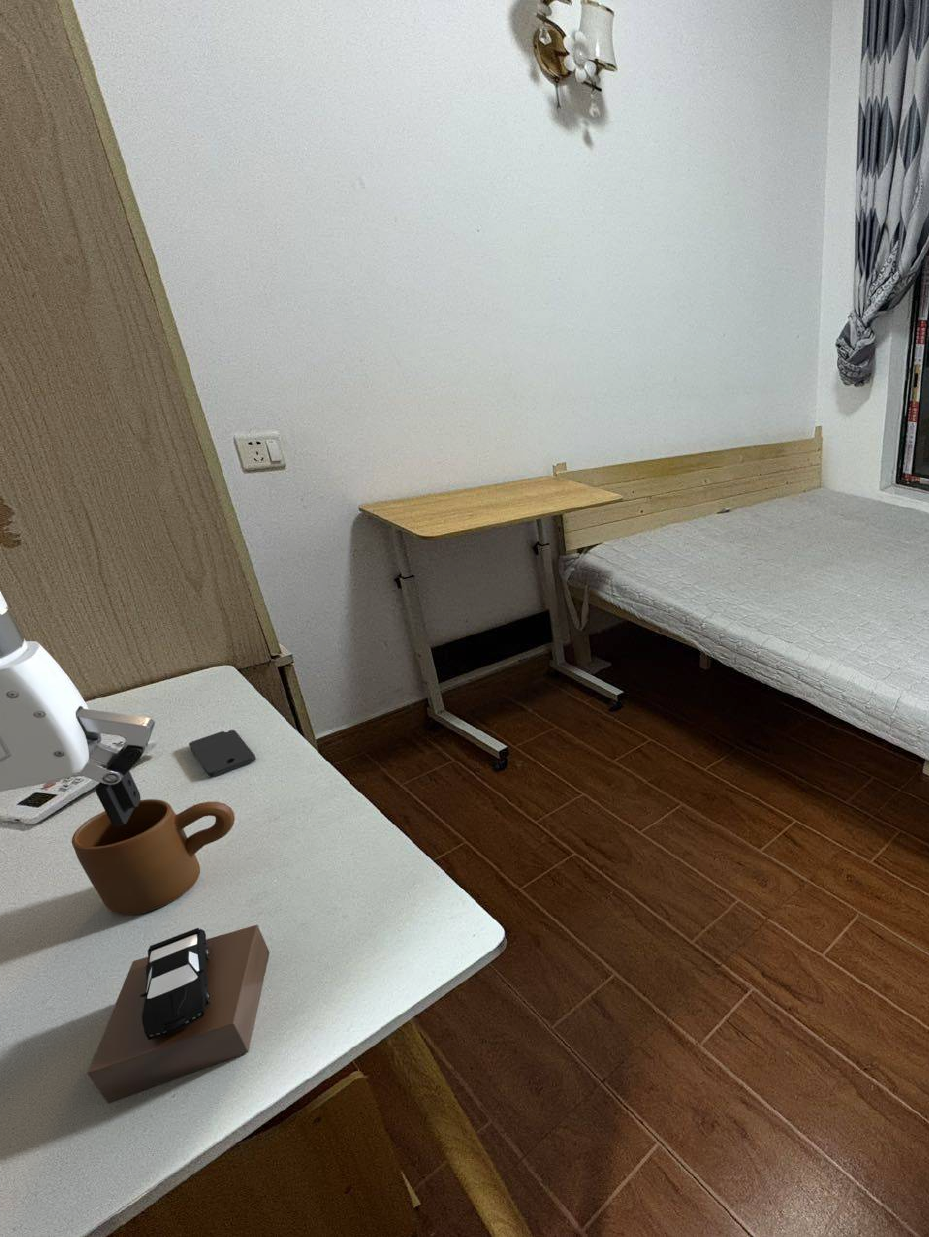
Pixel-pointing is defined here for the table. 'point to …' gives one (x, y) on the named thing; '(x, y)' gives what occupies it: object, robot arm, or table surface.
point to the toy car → (175, 983)
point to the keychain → (222, 752)
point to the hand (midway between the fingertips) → (44, 831)
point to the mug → (147, 853)
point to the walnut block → (207, 1041)
